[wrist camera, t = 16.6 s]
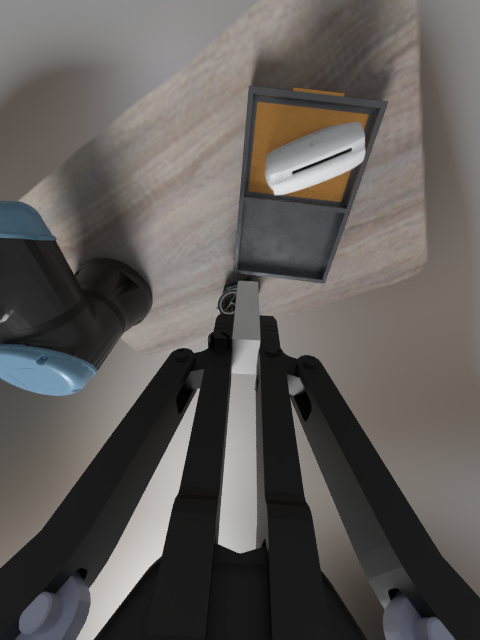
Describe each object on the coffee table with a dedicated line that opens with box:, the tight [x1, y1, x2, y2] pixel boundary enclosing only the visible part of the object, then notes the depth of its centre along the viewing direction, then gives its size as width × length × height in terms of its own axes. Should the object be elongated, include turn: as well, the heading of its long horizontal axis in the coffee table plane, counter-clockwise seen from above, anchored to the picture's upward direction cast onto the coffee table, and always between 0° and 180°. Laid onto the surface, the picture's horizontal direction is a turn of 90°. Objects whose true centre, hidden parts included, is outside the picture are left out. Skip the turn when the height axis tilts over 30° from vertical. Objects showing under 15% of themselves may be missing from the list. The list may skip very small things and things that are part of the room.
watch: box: [217, 277, 252, 314], centre depth 43 cm, size 6×8×11 cm
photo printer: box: [265, 122, 366, 195], centre depth 28 cm, size 10×4×12 cm, turn 110°
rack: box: [234, 86, 388, 283], centre depth 36 cm, size 16×24×3 cm
